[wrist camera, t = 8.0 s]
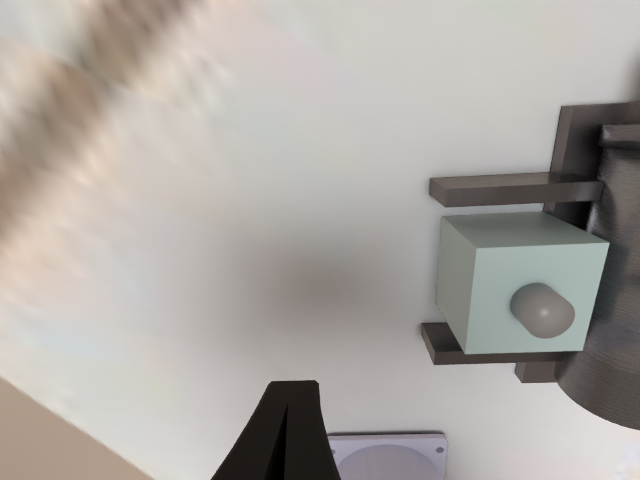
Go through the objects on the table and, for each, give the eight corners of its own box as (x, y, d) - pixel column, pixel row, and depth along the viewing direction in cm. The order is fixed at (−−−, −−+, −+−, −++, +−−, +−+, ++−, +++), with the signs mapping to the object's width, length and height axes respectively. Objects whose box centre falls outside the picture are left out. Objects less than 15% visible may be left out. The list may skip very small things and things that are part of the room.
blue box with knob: (526, 298, 19) (603, 370, 14) (435, 301, 19) (476, 373, 14) (541, 210, 17) (636, 254, 12) (441, 215, 18) (490, 260, 12)
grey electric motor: (625, 370, 20) (727, 459, 15) (419, 376, 21) (449, 464, 16) (726, 46, 15) (949, 9, 9) (436, 65, 15) (493, 40, 10)
